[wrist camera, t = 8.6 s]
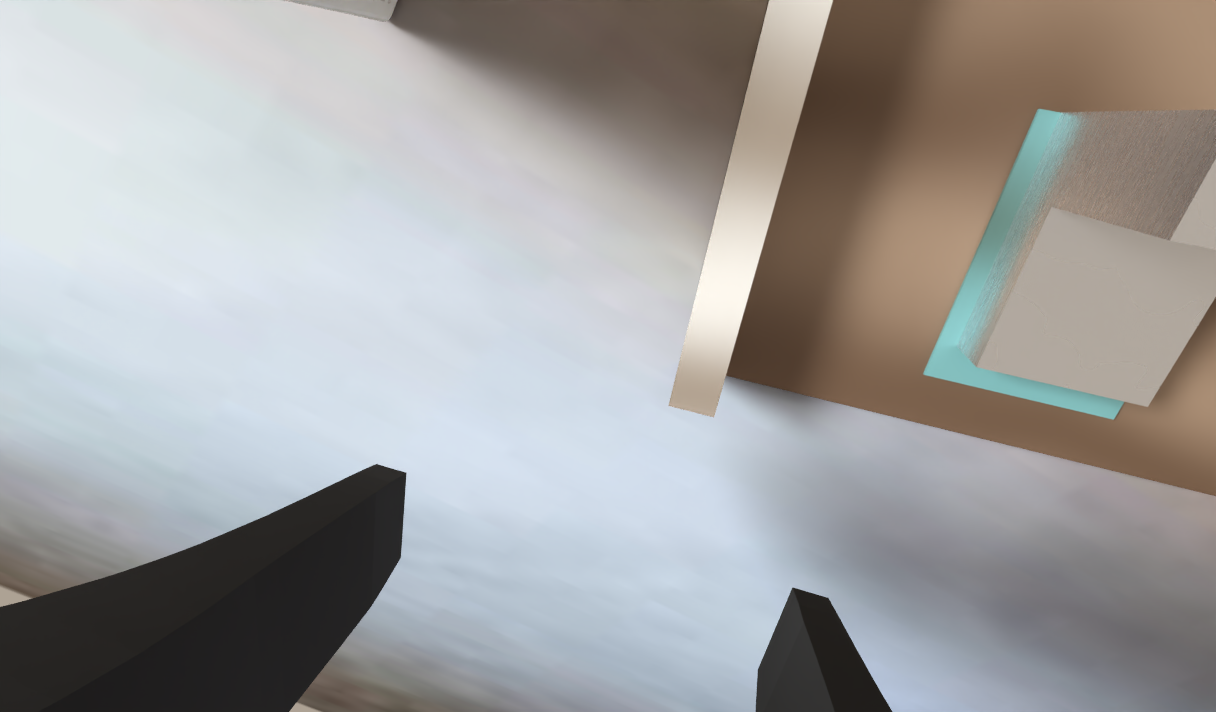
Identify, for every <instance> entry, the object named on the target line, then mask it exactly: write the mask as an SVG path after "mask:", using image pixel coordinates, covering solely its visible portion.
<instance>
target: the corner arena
mask: <svg viewBox="0 0 1216 712" xmlns="http://www.w3.org/2000/svg"><path fill="white" fill-rule="evenodd" d="M1162 110H1216V0H769V3H768V7H767V11H766V15H765V19H764V23H763V27H762V31H761V35H760V39H759V43H758V47H757V51H756V55H755V59H754V63H753V67H752V71H751V75H750V79H749V83H748V87H747V91H746V95H745V99H744V103H743V107H742V111H741V115H740V119H739V124H738V128H737V132H736V136H735V140H734V144H733V148H732V152H731V156H730V160H729V164H728V168H727V172H726V176H725V180H724V184H723V188H722V192H721V196H720V200H719V204H718V208H717V212H716V216H715V220H714V224H713V228H712V232H711V236H710V240H709V244H708V248H707V252H706V257H705V261H704V265H703V269H702V273H701V277H700V281H699V285H698V289H697V293H696V297H695V301H694V305H693V309H692V313H691V317H690V321H689V325H688V329H687V333H686V337H685V341H684V345H683V349H682V353H681V357H680V361H679V365H678V369H677V374H676V378H675V382H674V386H673V390H672V394H671V398H670V402H669V406H672V407H675V408H679V409H683V410H687V411H691V412H695V413H699V414H703V415H707V416H711V417H714V415H715V412H716V408H717V405H718V401H719V398H720V394H721V391H722V387H723V384H724V380H725V377H726V376H730V377H734V378H738V379H742V380H746V381H750V382H754V383H758V384H762V385H766V386H770V387H775V388H779V389H783V390H787V391H791V392H795V393H799V394H803V395H807V396H811V397H815V398H819V399H823V400H827V401H832V402H836V403H840V404H844V405H848V406H852V407H856V408H860V409H864V410H868V411H872V412H876V413H880V414H884V415H888V416H893V417H897V418H901V419H905V420H909V421H913V422H917V423H921V424H925V425H929V426H933V427H937V428H941V429H945V430H949V431H954V432H958V433H962V434H966V435H970V436H974V437H978V438H982V439H986V440H990V441H994V442H998V443H1002V444H1006V445H1011V446H1015V447H1019V448H1023V449H1027V450H1031V451H1035V452H1039V453H1043V454H1047V455H1051V456H1055V457H1059V458H1063V459H1067V460H1072V461H1076V462H1080V463H1084V464H1088V465H1092V466H1096V467H1100V468H1104V469H1108V470H1112V471H1116V472H1120V473H1124V474H1128V475H1133V476H1137V477H1141V478H1145V479H1149V480H1153V481H1157V482H1161V483H1165V484H1169V485H1173V486H1177V487H1181V488H1185V489H1190V490H1194V491H1198V492H1202V493H1206V494H1210V495H1214V496H1216V297H1215V299H1214V301H1213V302H1212V304H1211V305H1210V307H1209V309H1208V310H1207V312H1206V314H1205V315H1204V317H1203V318H1202V320H1201V322H1200V323H1199V325H1198V326H1197V328H1196V330H1195V331H1194V333H1193V335H1192V336H1191V338H1190V339H1189V341H1188V343H1187V344H1186V346H1185V347H1184V349H1183V351H1182V352H1181V354H1180V356H1179V357H1178V359H1177V360H1176V362H1175V364H1174V365H1173V367H1172V369H1171V370H1170V372H1169V373H1168V375H1167V377H1166V378H1165V380H1164V381H1163V383H1162V385H1161V386H1160V388H1159V390H1158V391H1157V393H1156V394H1155V396H1154V398H1153V399H1152V401H1151V403H1150V404H1149V406H1148V407H1145V406H1141V405H1137V404H1133V403H1128V402H1124V401H1120V400H1115V399H1111V398H1107V397H1103V396H1098V395H1094V394H1090V393H1085V392H1081V391H1077V390H1072V389H1068V388H1064V387H1060V386H1055V385H1051V384H1047V383H1042V382H1038V381H1034V380H1029V379H1025V378H1021V377H1017V376H1012V375H1008V374H1004V373H999V372H995V371H991V370H986V369H982V368H978V367H976V366H975V365H974V364H973V363H972V362H971V361H970V360H969V359H968V358H967V357H966V356H965V355H964V354H963V353H962V352H961V350H960V349H959V348H958V347H957V344H958V342H959V340H960V337H961V335H962V333H963V331H964V328H965V326H966V324H967V322H968V319H969V317H970V315H971V313H972V311H973V308H974V306H975V304H976V302H977V299H978V297H979V295H980V293H981V291H982V288H983V286H984V284H985V282H986V279H987V277H988V275H989V273H990V271H991V268H992V266H993V264H994V262H995V259H996V257H997V255H998V253H999V251H1000V248H1001V246H1002V244H1003V242H1004V239H1005V237H1006V235H1007V233H1008V230H1009V228H1010V226H1011V224H1012V222H1013V219H1014V217H1015V215H1016V213H1017V210H1018V208H1019V206H1020V204H1021V202H1022V199H1023V197H1024V195H1025V193H1026V190H1027V188H1028V186H1029V184H1030V182H1031V179H1032V177H1033V175H1034V173H1035V170H1036V168H1037V166H1038V164H1039V162H1040V159H1041V157H1042V155H1043V153H1044V150H1045V148H1046V146H1047V144H1048V141H1049V139H1050V137H1051V135H1052V133H1053V130H1054V128H1055V126H1056V124H1057V121H1058V119H1059V117H1060V115H1061V113H1062V112H1104V111H1162Z"/></svg>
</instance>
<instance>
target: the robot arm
mask: <svg viewBox="0 0 1216 712" xmlns="http://www.w3.org/2000/svg"><path fill="white" fill-rule="evenodd" d="M405 485H406V473H405V472H401V471H398V470H394V469H391V468H388V467H384V466H381V465H378V464H376V465H373V466H371V467H369V468H366V469H364V470H362V471H360V472H358V473H356V474H353V475H351V476H349V477H347V478H345V479H343V480H341V481H339V482H337V483H335V484H333V485H331V486H329V487H326V488H324V489H322V490H320V491H318V492H316V493H314V494H312V495H310V496H308V497H306V498H303V499H301V500H299V501H297V502H295V503H293V504H291V505H288V506H286V507H284V508H282V509H280V510H278V511H276V512H273V513H271V514H269V515H267V516H265V517H263V518H260V519H258V520H255V521H253V522H251V523H248V524H246V525H244V526H241V527H239V528H236V529H234V530H232V531H229V532H227V533H225V534H222V535H220V536H218V537H215V538H213V539H210V540H208V541H206V542H203V543H201V544H198V545H196V546H193V547H191V548H188V549H186V550H183V551H180V552H178V553H175V554H172V555H169V556H167V557H164V558H161V559H158V560H156V561H153V562H150V563H147V564H144V565H141V566H138V567H135V568H132V569H129V570H126V571H124V572H121V573H117V574H114V575H111V576H108V577H105V578H102V579H98V580H95V581H91V582H88V583H84V584H81V585H78V586H74V587H71V588H67V589H64V590H60V591H57V592H53V593H50V594H47V595H43V596H40V597H36V598H33V599H29V600H26V601H22V602H18V603H15V604H11V605H7V606H3V607H0V712H289V711H290V710H291V709H292V707H293V706H294V705H295V703H296V702H297V701H298V700H299V698H300V697H301V696H302V695H303V693H304V692H305V691H306V689H307V688H308V687H309V686H310V684H311V683H312V682H313V681H314V679H315V678H316V677H317V675H318V674H319V673H320V672H321V670H322V669H323V668H324V667H325V665H326V664H327V663H328V661H329V660H330V659H331V658H332V656H333V655H334V654H335V653H336V651H337V650H338V649H339V647H340V646H341V645H342V644H343V642H344V641H345V640H346V638H347V637H348V636H349V635H350V633H351V632H352V631H353V629H354V628H355V627H356V626H357V624H358V623H359V622H360V620H361V619H362V618H363V616H364V615H365V614H366V613H367V611H368V610H369V609H370V607H371V606H372V604H373V603H374V601H375V599H376V598H377V596H378V595H379V593H380V591H381V590H382V588H383V587H384V585H385V583H386V582H387V580H388V578H389V577H390V575H391V573H392V571H393V570H394V568H395V566H396V565H397V563H398V561H399V560H400V558H401V546H402V531H403V515H404V500H405ZM756 712H892V710H891V709H890V707H889V705H888V704H887V702H886V700H885V699H884V697H883V695H882V694H881V692H880V690H879V688H878V687H877V685H876V683H875V681H874V680H873V678H872V676H871V674H870V673H869V671H868V669H867V667H866V666H865V664H864V662H863V660H862V658H861V657H860V655H859V653H858V651H857V649H856V647H855V646H854V644H853V642H852V640H851V638H850V637H849V635H848V633H847V631H846V629H845V627H844V626H843V624H842V622H841V620H840V618H839V616H838V615H837V613H836V611H835V609H834V607H833V606H832V604H831V602H830V600H829V599H828V598H826V597H823V596H819V595H816V594H813V593H809V592H806V591H803V590H799V589H796V588H792V590H791V593H790V595H789V597H788V600H787V602H786V605H785V607H784V609H783V612H782V614H781V616H780V619H779V621H778V623H777V626H776V628H775V631H774V633H773V635H772V638H771V640H770V642H769V645H768V647H767V650H766V652H765V654H764V657H763V659H762V661H761V664H760V666H759V669H758V679H757V697H756Z"/></svg>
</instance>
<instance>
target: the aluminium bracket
mask: <svg viewBox="0 0 1216 712" xmlns="http://www.w3.org/2000/svg"><path fill="white" fill-rule="evenodd" d="M1215 297H1216V110H1162V111H1104V112H1062V113H1061V115H1060V117H1059V119H1058V121H1057V124H1056V126H1055V128H1054V130H1053V133H1052V135H1051V137H1050V139H1049V141H1048V144H1047V146H1046V148H1045V150H1044V153H1043V155H1042V157H1041V159H1040V162H1039V164H1038V166H1037V168H1036V170H1035V173H1034V175H1033V177H1032V179H1031V182H1030V184H1029V186H1028V188H1027V190H1026V193H1025V195H1024V197H1023V199H1022V202H1021V204H1020V206H1019V208H1018V210H1017V213H1016V215H1015V217H1014V219H1013V222H1012V224H1011V226H1010V228H1009V230H1008V233H1007V235H1006V237H1005V239H1004V242H1003V244H1002V246H1001V248H1000V251H999V253H998V255H997V257H996V259H995V262H994V264H993V266H992V268H991V271H990V273H989V275H988V277H987V279H986V282H985V284H984V286H983V288H982V291H981V293H980V295H979V297H978V299H977V302H976V304H975V306H974V308H973V311H972V313H971V315H970V317H969V319H968V322H967V324H966V326H965V328H964V331H963V333H962V335H961V337H960V340H959V342H958V344H957V347H958V348H959V349H960V350H961V352H962V353H963V354H964V355H965V356H966V357H967V358H968V359H969V360H970V361H971V362H972V363H973V364H974V365H975V366H976V367H978V368H982V369H986V370H991V371H995V372H999V373H1004V374H1008V375H1012V376H1017V377H1021V378H1025V379H1029V380H1034V381H1038V382H1042V383H1047V384H1051V385H1055V386H1060V387H1064V388H1068V389H1072V390H1077V391H1081V392H1085V393H1090V394H1094V395H1098V396H1103V397H1107V398H1111V399H1115V400H1120V401H1124V402H1128V403H1133V404H1137V405H1141V406H1145V407H1148V406H1149V404H1150V403H1151V401H1152V399H1153V398H1154V396H1155V394H1156V393H1157V391H1158V390H1159V388H1160V386H1161V385H1162V383H1163V381H1164V380H1165V378H1166V377H1167V375H1168V373H1169V372H1170V370H1171V369H1172V367H1173V365H1174V364H1175V362H1176V360H1177V359H1178V357H1179V356H1180V354H1181V352H1182V351H1183V349H1184V347H1185V346H1186V344H1187V343H1188V341H1189V339H1190V338H1191V336H1192V335H1193V333H1194V331H1195V330H1196V328H1197V326H1198V325H1199V323H1200V322H1201V320H1202V318H1203V317H1204V315H1205V314H1206V312H1207V310H1208V309H1209V307H1210V305H1211V304H1212V302H1213V301H1214V299H1215Z"/></svg>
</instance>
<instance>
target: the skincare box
mask: <svg viewBox="0 0 1216 712" xmlns="http://www.w3.org/2000/svg"><path fill="white" fill-rule="evenodd" d="M284 1H290V2H295V3H299V4H303V5H308V6H314V7H318V8H323V9H327V10H333V11H337V12H341V13H346V14H351V15H355V16H360V17H364V18H368V19H373V20H377V21H382V22H384V21H388V20H389V19H390V18H391V16H392V14H393V11H394V8H395V6H396V3H397V0H284Z"/></svg>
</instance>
